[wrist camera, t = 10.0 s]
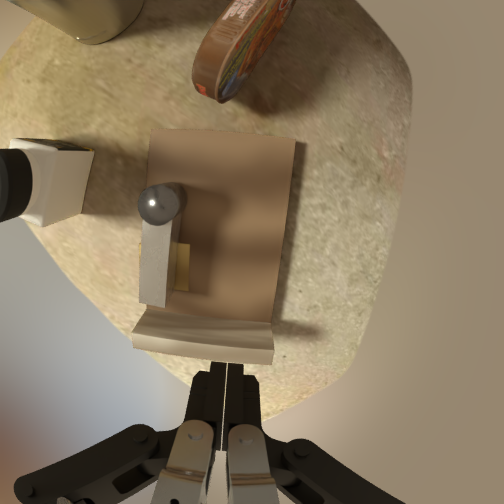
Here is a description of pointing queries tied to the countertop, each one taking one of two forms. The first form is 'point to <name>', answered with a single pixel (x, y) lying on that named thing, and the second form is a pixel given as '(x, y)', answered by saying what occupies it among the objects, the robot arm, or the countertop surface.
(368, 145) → the countertop surface
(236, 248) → the board
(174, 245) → the swing bar
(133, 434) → the robot arm
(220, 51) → the tin
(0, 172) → the medicine bottle
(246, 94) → the countertop surface
